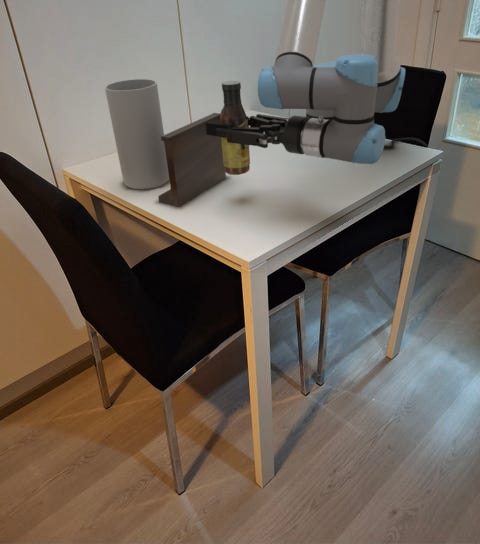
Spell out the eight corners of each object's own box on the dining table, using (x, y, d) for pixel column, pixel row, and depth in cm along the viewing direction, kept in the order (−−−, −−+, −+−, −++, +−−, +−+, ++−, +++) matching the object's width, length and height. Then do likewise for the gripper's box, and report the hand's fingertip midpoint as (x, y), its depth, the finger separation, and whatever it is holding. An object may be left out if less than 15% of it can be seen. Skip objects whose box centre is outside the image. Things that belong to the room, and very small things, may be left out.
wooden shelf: (226, 177, 130) (221, 113, 121) (178, 207, 116) (169, 137, 107) (207, 173, 133) (201, 111, 124) (158, 202, 119) (147, 134, 110)
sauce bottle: (247, 176, 111) (242, 86, 100) (221, 176, 112) (213, 86, 101) (252, 165, 116) (248, 78, 105) (227, 165, 117) (220, 79, 106)
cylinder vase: (162, 191, 125) (146, 90, 111) (116, 189, 127) (96, 91, 114) (175, 172, 135) (163, 78, 122) (133, 172, 138) (116, 79, 124)
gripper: (327, 106, 104) (237, 97, 115) (285, 131, 91) (188, 118, 102) (325, 140, 108) (239, 128, 119) (285, 169, 95) (192, 153, 106)
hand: (216, 124), depth 111 cm, fingers closed on sauce bottle, 6 cm apart
